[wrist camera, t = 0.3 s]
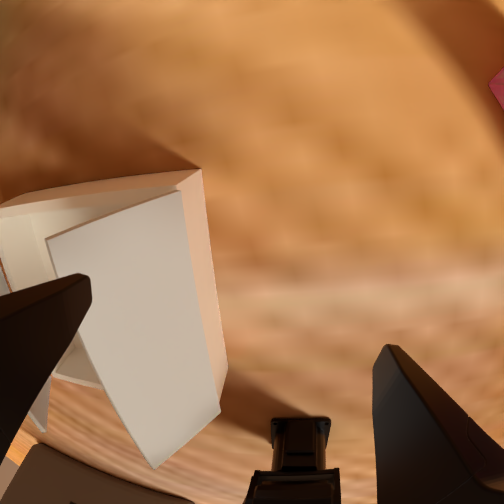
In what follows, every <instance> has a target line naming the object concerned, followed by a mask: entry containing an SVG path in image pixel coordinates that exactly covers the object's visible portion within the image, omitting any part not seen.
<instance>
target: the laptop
mask: <svg viewBox="0 0 504 504" xmlns="http://www.w3.org/2000/svg"><path fill="white" fill-rule="evenodd" d="M0 504H194V503H193V502H191V501H188V500H184V499H180V498H176V497H173V496H169V495H166V494H162V493H159V492H156V491H152V490H149V489H146V488H143V487H140V486H137V485H134V484H132V483H129V482H126V481H123V480H121V479H118V478H115V477H113V476H110V475H108V474H105V473H103V472H101V471H98V470H96V469H93V468H91V467H89V466H87V465H84V464H82V463H80V462H78V461H76V460H74V459H72V458H70V457H68V456H66V455H64V454H62V453H60V452H58V451H56V450H54V449H52V448H50V447H48V446H46V445H45V444H42V443H39V444H35V445H33V446H32V447H31V449H30V450H29V452H28V454H27V455H26V457H25V459H24V460H23V462H22V464H21V465H20V467H19V469H18V470H17V472H16V474H15V476H14V478H13V479H12V481H11V483H10V484H9V486H8V488H7V490H6V492H5V493H4V495H3V497H2V499H1V501H0Z"/></svg>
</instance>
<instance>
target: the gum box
mask: <svg viewBox="0 0 504 504" xmlns="http://www.w3.org/2000/svg"><path fill="white" fill-rule="evenodd" d="M488 86H489V87H490V89H491V91H492V92H493V94H494V95H495V97H496V98H497V100H498V102H499V103H500V105H501V107H502V108H503V110H504V67H503V68H502V69H501V71H500V72H499V73H498V74H497V75H496V76H495V77H494V78H493V79H492V80H491V81H490V82H489V84H488Z"/></svg>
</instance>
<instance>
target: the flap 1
mask: <svg viewBox="0 0 504 504" xmlns="http://www.w3.org/2000/svg"><path fill="white" fill-rule="evenodd" d="M8 293H10V291H9V288H8V285H7V283H6V280H5V277H4V275H3V272H2V269H1V266H0V296H2V295H5V294H8ZM50 385H51V376H49V378H48V380H47V381H46V383H45V385H44V386H43V388H42V389H41V391H40V393H39V395H38V396H37V398H36V400H35V401H34V403H33V405H32V406H31V408H30V410H29V412H28V413H27V414H28V415H29V417H30V418H31V419H32V421H33V422H34V423H35V424H36V426H37V427H38V428H39V430H40V431H41V432H42V433H44V432H47V417H48V404H49V394H50Z"/></svg>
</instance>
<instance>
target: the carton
mask: <svg viewBox="0 0 504 504" xmlns="http://www.w3.org/2000/svg"><path fill="white" fill-rule="evenodd" d="M173 190H181V194H182V202H183V209H184V216H185V223H186V230H187V237H188V243H189V250H190V256H191V262H192V268H193V274H194V280H195V286H196V291H197V297H198V303H199V308H200V313H201V319H202V324H203V329H204V334H205V339H206V344H207V349H208V354H209V359H210V364H211V369H212V373H213V378H214V382H215V387H216V391H217V396H218V400H219V401H220V397H221V394H222V390H223V386H224V382H225V378H226V375H227V371H228V362H227V356H226V350H225V343H224V337H223V330H222V324H221V317H220V311H219V304H218V297H217V290H216V283H215V276H214V268H213V261H212V254H211V246H210V238H209V230H208V222H207V214H206V205H205V197H204V188H203V179H202V169H192V170H181V171H170V172H161V173H151V174H143V175H134V176H126V177H119V178H111V179H104V180H97V181H91V182H84V183H78V184H72V185H66V186H60V187H55V188H49V189H44V190H39V191H34V192H29V193H24V194H22V195H19V196H17V197H15V198H13V199H11V200H9V201H6V202H4V203H2V204H0V258H1V261H2V264H3V267H4V270H5V273H6V276H7V278H8V281H9V284H10V286H11V289H12V292H15V291H18V290H21V289H25V288H28V287H31V286H35V285H38V284H41V283H45V282H48V281H51V280H55V279H56V276H55V273H54V270H53V267H52V263H51V260H50V257H49V254H48V250H47V247H46V243H45V240H44V238H47V237H49V236H51V235H54V234H56V233H59V232H61V231H64V230H66V229H68V228H71V227H73V226H76V225H78V224H81V223H84V222H86V221H89V220H91V219H94V218H97V217H99V216H102V215H104V214H107V213H110V212H113V211H115V210H118V209H121V208H124V207H126V206H129V205H132V204H135V203H138V202H141V201H143V200H146V199H149V198H152V197H155V196H158V195H161V194H164V193H167V192H170V191H173ZM52 375H53V377H55V378H58V379H62V380H65V381H69V382H73V383H77V384H81V385H85V386H89V387H93V388H97V389H101V390H104V389H103V387H102V385H101V383H100V381H99V379H98V377H97V375H96V373H95V371H94V369H93V367H92V365H91V363H90V361H89V359H88V357H87V354H86V352H85V350H84V348H83V346H82V343H81V341H80V339H79V336H78V334H77V333H76V334H75V336H74V338H73V340H72V342H71V343H70V345H69V347H68V348H67V350H66V351H65V353H64V354H63V356H62V357H61V359H60V360H59V362H58V364H57V365H56V367H55V368H54V370H53V372H52Z"/></svg>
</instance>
